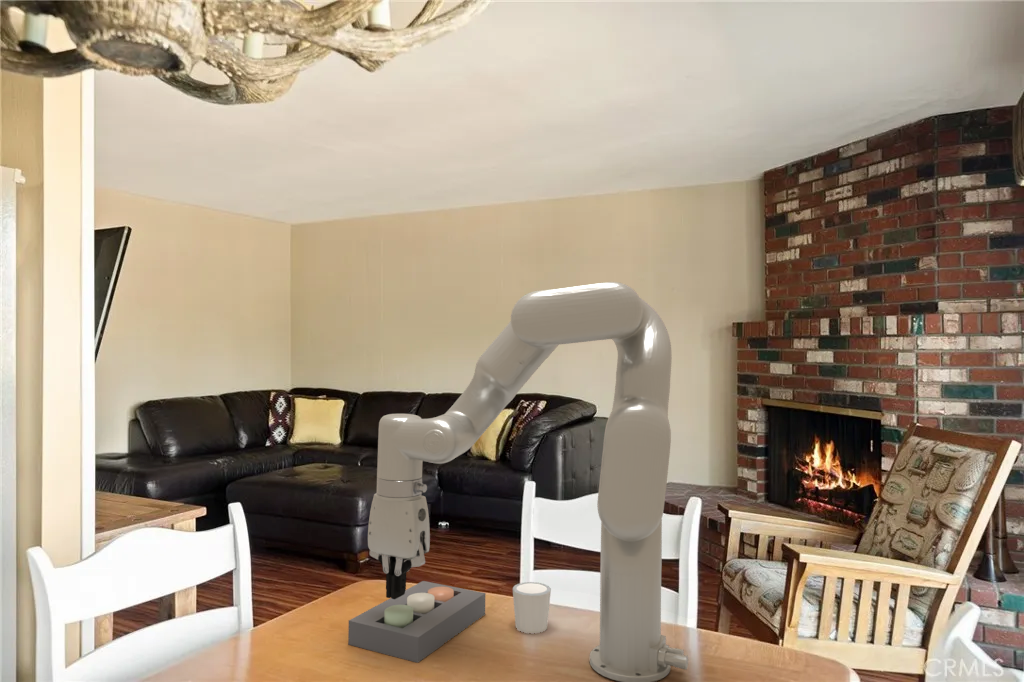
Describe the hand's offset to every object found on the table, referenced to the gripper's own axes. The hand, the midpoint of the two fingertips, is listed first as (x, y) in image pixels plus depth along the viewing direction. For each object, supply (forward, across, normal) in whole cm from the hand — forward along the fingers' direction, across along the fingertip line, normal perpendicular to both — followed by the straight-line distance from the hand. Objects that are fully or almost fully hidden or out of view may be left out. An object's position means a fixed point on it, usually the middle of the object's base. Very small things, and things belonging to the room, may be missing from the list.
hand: (395, 595), depth 116 cm
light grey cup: (+8, -18, -17) cm, 26 cm away
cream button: (+6, -1, -7) cm, 9 cm away
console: (+8, -1, -7) cm, 10 cm away
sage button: (+6, -1, 0) cm, 6 cm away
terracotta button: (+7, -1, -13) cm, 15 cm away
